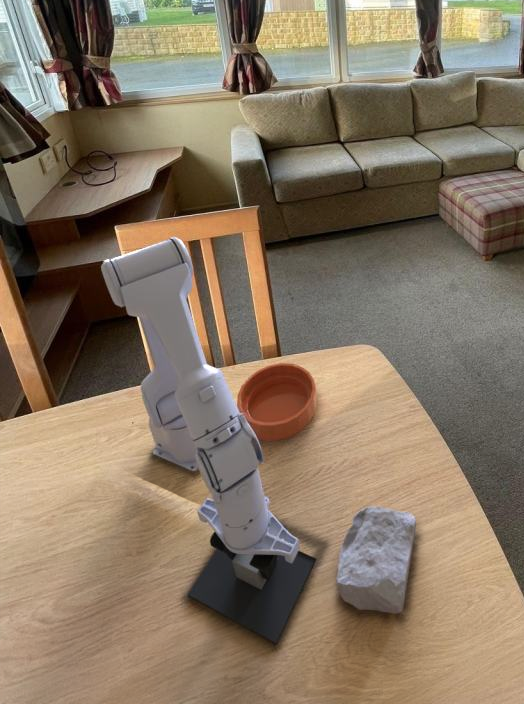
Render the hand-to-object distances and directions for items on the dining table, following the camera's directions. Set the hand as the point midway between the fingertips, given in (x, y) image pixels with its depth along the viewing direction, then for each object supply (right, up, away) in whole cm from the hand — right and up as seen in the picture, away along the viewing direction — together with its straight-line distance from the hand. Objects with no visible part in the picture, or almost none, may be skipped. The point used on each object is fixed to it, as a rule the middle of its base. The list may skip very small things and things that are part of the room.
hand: (256, 564), depth 67 cm
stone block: (+17, -1, +1) cm, 17 cm away
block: (0, -1, +1) cm, 1 cm away
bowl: (-2, +10, +25) cm, 27 cm away
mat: (0, -1, +1) cm, 1 cm away
